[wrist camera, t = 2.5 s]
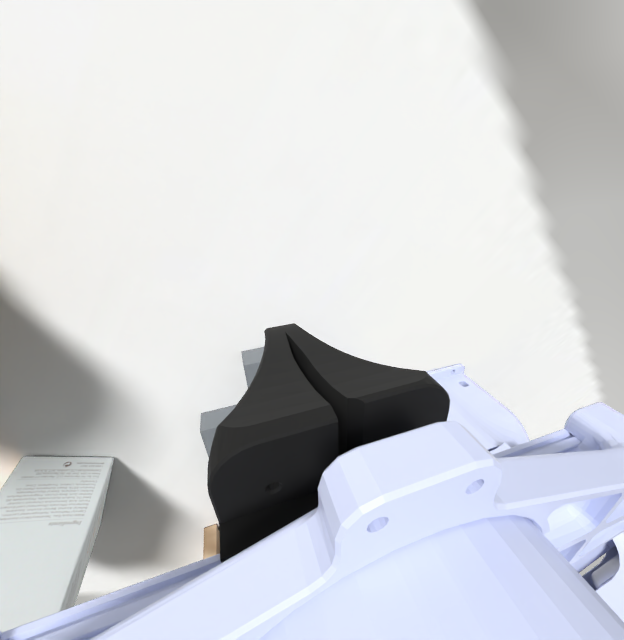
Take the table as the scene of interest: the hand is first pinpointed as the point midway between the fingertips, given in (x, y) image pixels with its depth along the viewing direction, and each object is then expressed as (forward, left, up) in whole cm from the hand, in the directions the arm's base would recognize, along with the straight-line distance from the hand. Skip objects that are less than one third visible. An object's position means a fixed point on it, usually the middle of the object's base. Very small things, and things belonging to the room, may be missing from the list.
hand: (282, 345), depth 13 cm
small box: (+17, +15, -8) cm, 24 cm away
